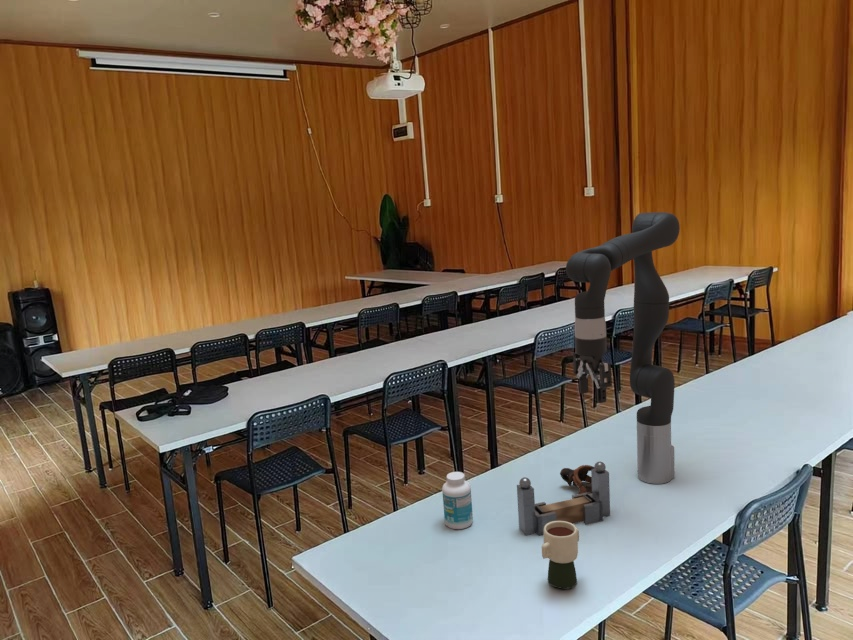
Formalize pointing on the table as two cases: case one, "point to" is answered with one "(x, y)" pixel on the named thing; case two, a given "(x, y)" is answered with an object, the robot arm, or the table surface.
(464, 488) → the pill bottle
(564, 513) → the walnut rail
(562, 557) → the character mug
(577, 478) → the broken pottery vessel
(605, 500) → the ball knob clevis bracket
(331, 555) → the table surface
